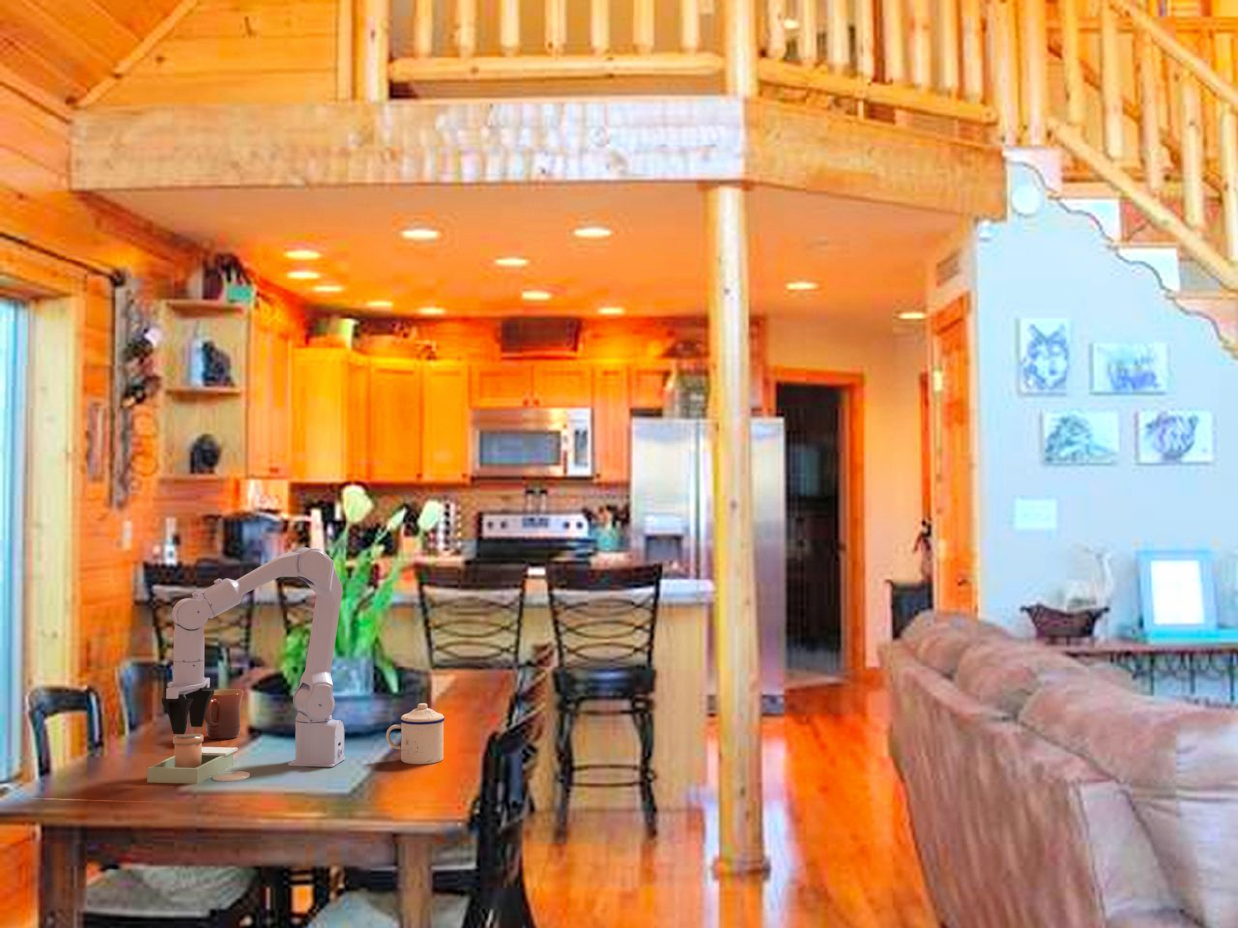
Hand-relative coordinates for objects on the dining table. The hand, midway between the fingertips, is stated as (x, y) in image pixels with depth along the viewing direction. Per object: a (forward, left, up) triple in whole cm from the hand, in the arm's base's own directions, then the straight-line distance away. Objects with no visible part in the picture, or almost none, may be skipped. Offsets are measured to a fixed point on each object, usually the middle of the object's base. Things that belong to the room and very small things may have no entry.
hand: (188, 730), depth 241 cm
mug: (+10, -37, -9) cm, 39 cm away
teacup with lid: (-40, -20, -9) cm, 46 cm away
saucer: (-9, 0, -9) cm, 13 cm away
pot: (0, 0, -9) cm, 9 cm away
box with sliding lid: (0, -2, -9) cm, 9 cm away
